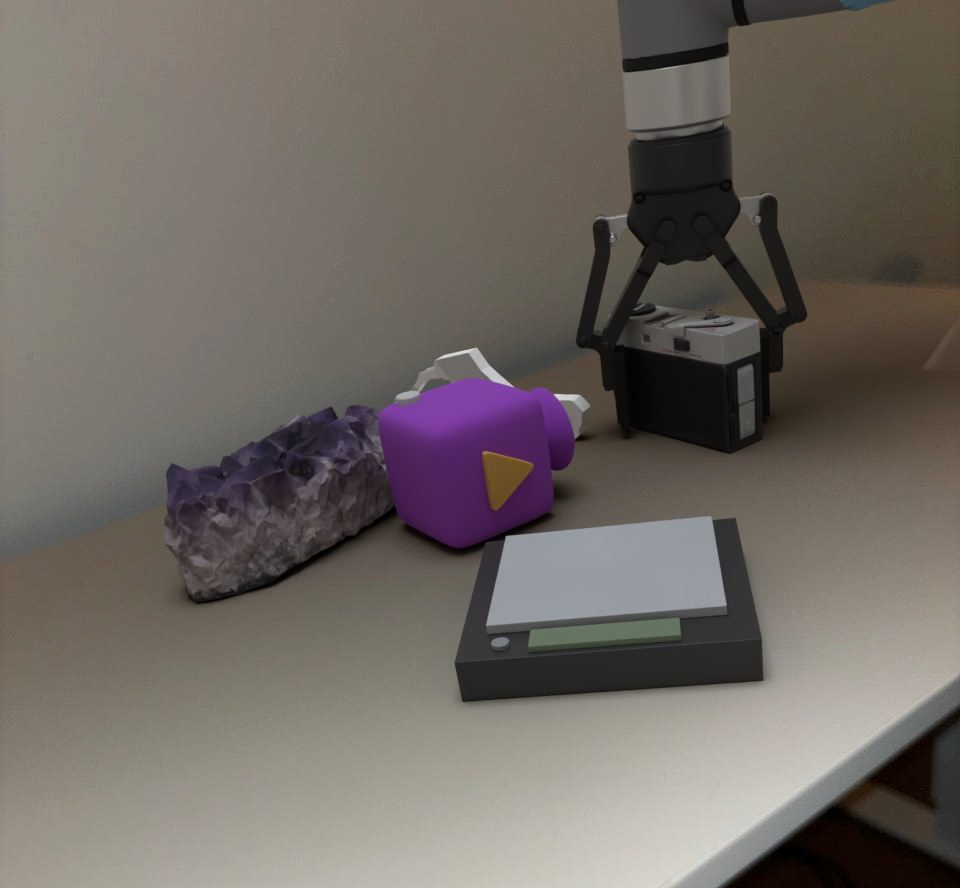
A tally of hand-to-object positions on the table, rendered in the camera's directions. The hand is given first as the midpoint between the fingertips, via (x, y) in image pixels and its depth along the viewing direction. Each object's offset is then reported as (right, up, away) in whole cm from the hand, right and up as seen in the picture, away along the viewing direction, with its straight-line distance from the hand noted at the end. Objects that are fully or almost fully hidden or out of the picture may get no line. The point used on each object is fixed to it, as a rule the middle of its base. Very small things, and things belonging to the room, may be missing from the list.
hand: (693, 418), depth 89 cm
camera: (+1, -1, 0) cm, 1 cm away
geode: (-32, -11, -8) cm, 35 cm away
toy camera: (-17, -9, -9) cm, 21 cm away
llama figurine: (-17, 0, +7) cm, 18 cm away
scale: (-10, -17, -26) cm, 33 cm away
